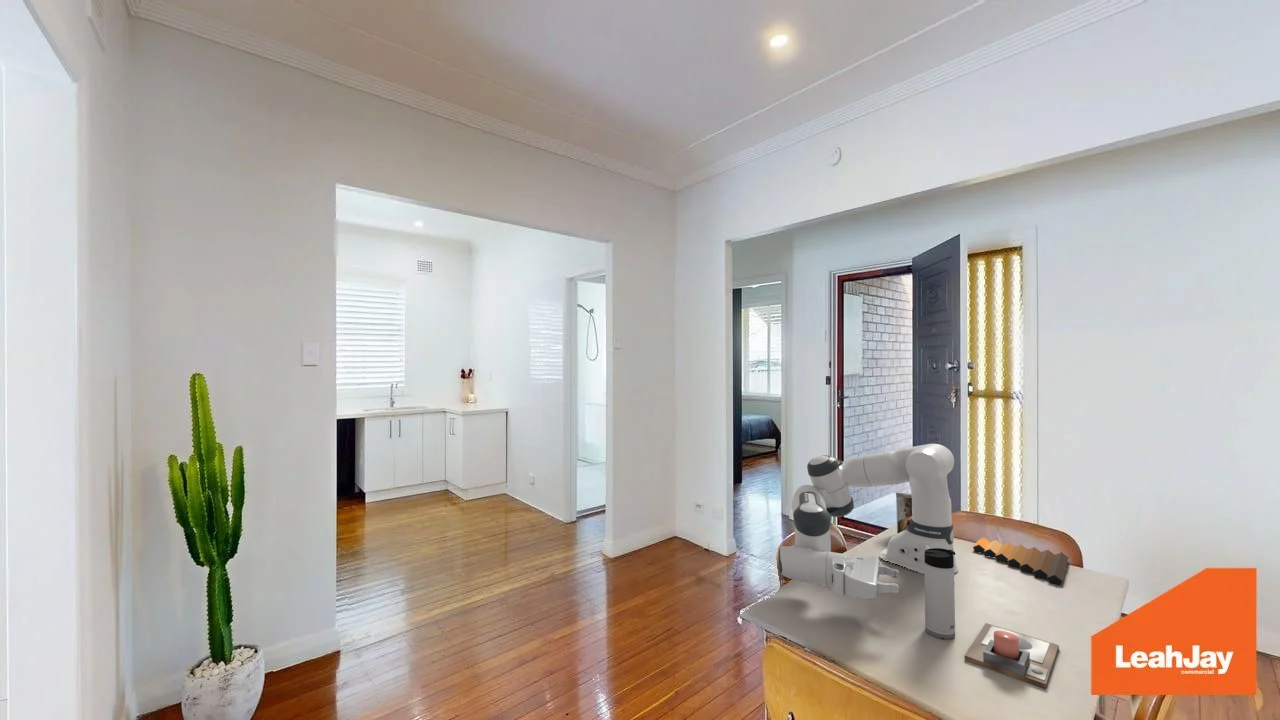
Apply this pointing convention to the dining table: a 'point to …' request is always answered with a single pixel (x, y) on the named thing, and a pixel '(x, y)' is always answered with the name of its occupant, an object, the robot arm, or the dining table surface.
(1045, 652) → the brown board with holder
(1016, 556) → the pan flute
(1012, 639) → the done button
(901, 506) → the coffee box
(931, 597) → the travel mug
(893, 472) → the robot arm
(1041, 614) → the dining table surface
